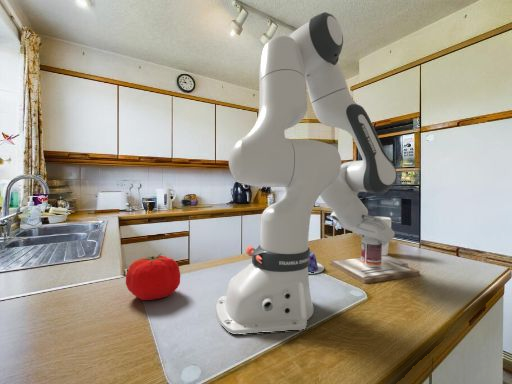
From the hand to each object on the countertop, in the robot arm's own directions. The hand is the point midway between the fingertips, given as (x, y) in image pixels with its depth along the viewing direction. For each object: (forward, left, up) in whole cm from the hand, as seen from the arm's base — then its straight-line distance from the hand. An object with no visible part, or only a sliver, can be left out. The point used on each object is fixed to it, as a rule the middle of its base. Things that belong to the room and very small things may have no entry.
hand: (374, 240), depth 79 cm
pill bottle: (-1, 0, -8) cm, 8 cm away
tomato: (-69, +2, -10) cm, 69 cm away
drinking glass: (+15, +12, -10) cm, 22 cm away
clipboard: (-1, 0, -10) cm, 10 cm away
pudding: (-22, +7, -10) cm, 25 cm away
